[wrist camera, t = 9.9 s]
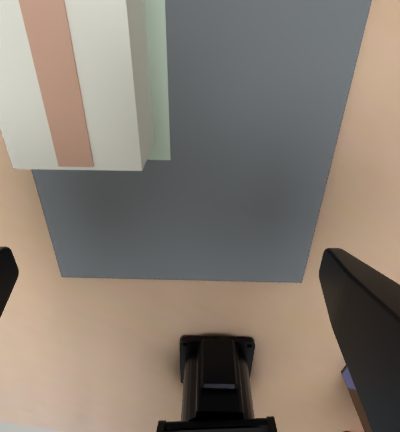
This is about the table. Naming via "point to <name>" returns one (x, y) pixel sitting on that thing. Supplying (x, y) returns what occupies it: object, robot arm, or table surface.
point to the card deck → (75, 84)
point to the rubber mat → (218, 147)
